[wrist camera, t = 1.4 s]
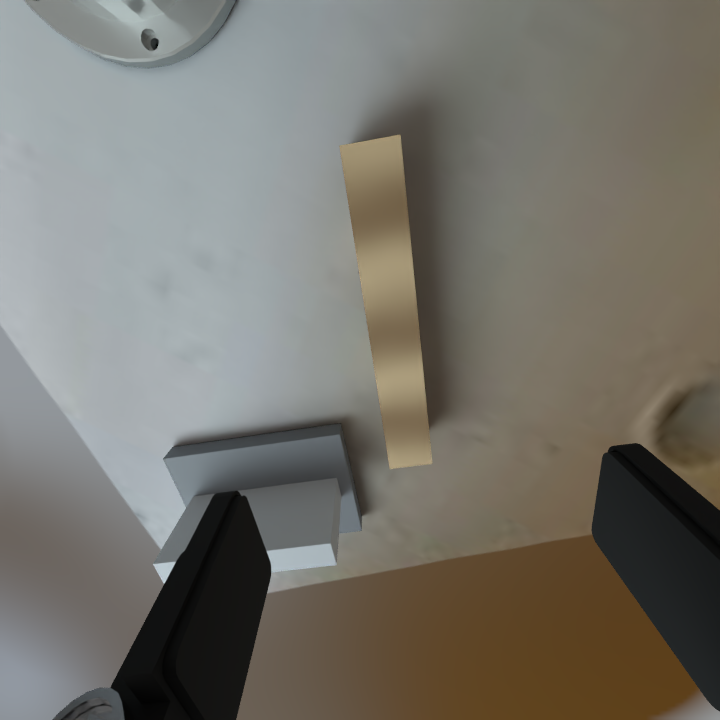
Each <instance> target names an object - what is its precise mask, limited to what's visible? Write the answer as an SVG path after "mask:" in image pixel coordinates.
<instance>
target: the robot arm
mask: <svg viewBox="0 0 720 720" xmlns="http://www.w3.org/2000/svg"><path fill="white" fill-rule="evenodd" d="M24 1H25V2H26V4H27V5H28V6H29V7H30V8H31V9H32V11H34V12H35V13H36V14H37V15H38V16H39V17H40V18H41V19H42V20H44V21H45V22H46V23H47V24H48V25H49V26H50V27H51V28H53V29H54V30H55V31H56V32H57V33H59V34H61V35H62V36H64V37H65V38H67V39H68V40H70V41H71V42H73V43H74V44H76V45H77V46H79V47H81V48H83V49H84V50H86V51H88V52H90V53H92V54H94V55H96V56H98V57H100V58H101V59H104V60H107V61H110V62H113V63H116V64H120V65H123V66H126V67H138V68H155V67H161V66H168V65H172V64H174V63H176V62H179V61H181V60H183V59H186V58H188V57H190V56H192V55H193V54H194V53H195V52H197V51H198V50H199V49H201V48H202V47H203V46H205V45H206V44H207V43H208V42H209V41H210V40H211V39H212V38H213V36H214V35H215V34H216V33H217V31H218V30H219V29H220V28H221V26H222V25H223V24H224V22H225V20H226V18H227V17H228V15H229V13H230V11H231V9H232V7H233V5H234V3H235V1H236V0H24ZM158 42H159V45H158V47H157V49H156V50H155V45H156V43H158ZM592 534H593V537H594V540H595V542H596V543H597V545H598V546H599V548H600V549H601V551H602V552H603V553H604V555H605V556H606V558H607V559H608V561H609V562H610V563H611V565H612V566H613V568H614V569H615V570H616V572H617V573H618V575H619V576H620V577H621V579H622V580H623V582H624V583H625V585H626V586H627V587H628V589H629V590H630V592H631V593H632V594H633V595H634V597H635V599H636V600H637V601H638V603H639V604H640V606H641V607H642V608H643V610H644V611H645V613H646V614H647V616H648V617H649V618H650V620H651V621H652V623H653V624H654V626H655V627H656V628H657V630H658V631H659V632H660V634H661V635H662V637H663V638H664V640H665V641H666V642H667V644H668V645H669V647H670V648H671V650H672V651H673V652H674V654H675V655H676V656H677V658H678V659H679V661H680V662H681V664H682V665H683V667H684V668H685V669H686V671H687V672H688V673H689V675H690V676H691V678H692V679H693V681H694V682H695V683H696V685H697V686H698V688H699V689H700V691H701V692H702V693H703V695H704V696H705V697H706V699H707V700H708V701H709V703H710V704H711V705H712V706H713V707H714V708H715V709H717V710H718V711H720V510H718V509H717V508H716V507H715V506H714V505H713V504H711V503H710V502H709V501H708V500H707V499H705V498H704V497H703V496H702V495H701V494H699V493H698V492H697V491H696V490H695V489H693V488H692V487H691V486H690V485H689V484H687V483H686V482H685V481H684V480H683V479H681V478H680V477H679V476H678V475H677V474H676V473H674V472H673V471H672V470H671V469H670V468H668V467H667V466H666V465H665V464H664V463H662V462H661V461H660V460H659V459H658V458H656V457H655V456H654V455H653V454H652V453H650V452H649V451H648V450H647V449H646V448H644V447H643V446H642V445H640V444H637V443H634V444H625V445H617V446H611V447H610V448H609V450H608V453H605V454H604V455H603V457H602V464H601V470H600V477H599V483H598V490H597V496H596V503H595V509H594V516H593V522H592ZM270 578H271V562H270V559H269V556H268V554H267V551H266V548H265V546H264V543H263V540H262V537H261V535H260V532H259V529H258V526H257V524H256V521H255V518H254V515H253V513H252V510H251V507H250V504H249V502H248V499H247V497H246V496H245V495H243V496H241V494H240V492H239V491H229V492H220V493H216V494H214V496H213V497H212V499H211V501H210V503H209V505H208V506H207V508H206V510H205V512H204V514H203V516H202V518H201V520H200V522H199V524H198V526H197V528H196V530H195V532H194V534H193V536H192V538H191V540H190V542H189V544H188V545H187V547H186V549H185V551H184V552H182V553H181V555H180V556H179V558H178V559H177V561H176V563H175V565H174V567H173V568H172V570H171V572H170V574H169V576H168V578H167V580H166V582H165V584H164V586H163V588H162V590H161V591H160V593H159V595H158V597H157V599H156V601H155V603H154V605H153V607H152V609H151V611H150V613H149V614H148V616H147V618H146V620H145V622H144V624H143V626H142V628H141V630H140V632H139V634H138V635H137V637H136V639H135V641H134V643H133V645H132V647H131V649H130V651H129V653H128V655H127V657H126V659H125V660H124V662H123V664H122V666H121V668H120V670H119V672H118V674H117V676H116V678H115V680H114V682H113V683H112V685H111V688H97V689H94V690H92V691H89V692H86V693H85V694H83V695H81V696H80V697H78V698H77V699H75V700H73V701H72V702H71V703H70V704H69V705H67V706H66V707H65V708H64V709H63V710H62V711H60V712H59V713H58V714H57V715H56V717H55V718H54V719H53V720H236V718H237V714H238V709H239V705H240V701H241V697H242V693H243V689H244V685H245V680H246V676H247V673H248V668H249V664H250V660H251V656H252V652H253V648H254V643H255V640H256V635H257V631H258V627H259V623H260V619H261V615H262V611H263V607H264V602H265V598H266V594H267V590H268V586H269V582H270Z"/></svg>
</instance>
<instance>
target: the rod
mask: <svg viewBox="0 0 720 720" xmlns="http://www.w3.org/2000/svg"><path fill="white" fill-rule="evenodd" d="M340 152H341V159H342V165H343V172H344V178H345V184H346V191H347V197H348V204H349V210H350V216H351V223H352V229H353V236H354V242H355V249H356V255H357V261H358V268H359V274H360V281H361V287H362V293H363V300H364V306H365V313H366V319H367V325H368V332H369V338H370V345H371V351H372V358H373V364H374V370H375V377H376V383H377V390H378V396H379V402H380V409H381V415H382V422H383V428H384V434H385V441H386V447H387V454H388V460H389V467H390V469H394V468H402V467H410V466H419V465H427V464H432V456H431V445H430V435H429V425H428V414H427V404H426V394H425V383H424V373H423V363H422V352H421V342H420V332H419V321H418V311H417V301H416V290H415V280H414V270H413V259H412V249H411V239H410V228H409V218H408V208H407V197H406V187H405V177H404V166H403V156H402V146H401V135H395V136H389V137H384V138H379V139H373V140H368V141H362V142H357V143H352V144H346V145H341V146H340Z"/></svg>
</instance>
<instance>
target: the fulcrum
mask: <svg viewBox="0 0 720 720" xmlns="http://www.w3.org/2000/svg"><path fill="white" fill-rule="evenodd" d="M163 460H164V462H165V464H166V466H167V468H168V470H169V472H170V475H171V477H172V479H173V481H174V483H175V485H176V487H177V489H178V491H179V494H180V496H181V498H182V500H183V502H184V504H185V506H186V509H185V511H184V513H183V514H182V516H181V518H180V520H179V521H178V523H177V525H176V526H175V528H174V530H173V531H172V533H171V535H170V536H169V538H168V540H167V541H166V543H165V545H164V546H163V548H162V550H161V551H160V553H159V555H158V556H157V558H156V560H155V562H154V563H153V565H154V567H155V569H156V571H157V572H158V574H159V576H160V578H161V579H162V581H163V583H164V584H165V582H166V580H167V578H168V576H169V574H170V572H171V570H172V568H173V567H174V565H175V563H176V561H177V559H178V558H179V556H180V555H181V553H182V552H184V551H185V549H186V547H187V545H188V544H189V542H190V540H191V538H192V536H193V534H194V532H195V530H196V528H197V526H198V524H199V522H200V520H201V518H202V516H203V514H204V512H205V510H206V508H207V506H208V505H209V503H210V501H211V499H212V497H213V496H214V494H216V493H220V492H229V491H239V492H240V494H241V496H243V495H245V496H246V497H247V499H248V502H249V504H250V507H251V510H252V513H253V515H254V518H255V521H256V524H257V526H258V529H259V532H260V535H261V537H262V540H263V543H264V546H265V548H266V551H267V554H268V556H269V559H270V562H271V572H278V571H287V570H296V569H305V568H314V567H322V566H331V565H337V552H338V538H339V533H347V532H356V531H362V516H361V512H360V507H359V503H358V498H357V494H356V489H355V485H354V480H353V476H352V471H351V467H350V462H349V458H348V453H347V449H346V444H345V440H344V435H343V431H342V427H341V423H340V424H333V425H326V426H319V427H312V428H304V429H297V430H290V431H283V432H276V433H269V434H262V435H255V436H248V437H241V438H234V439H227V440H220V441H212V442H205V443H198V444H191V445H184V446H177V447H172V449H171V450H170V451H169V452H168V454H167V455H166V456H165V457H164V458H163Z"/></svg>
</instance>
